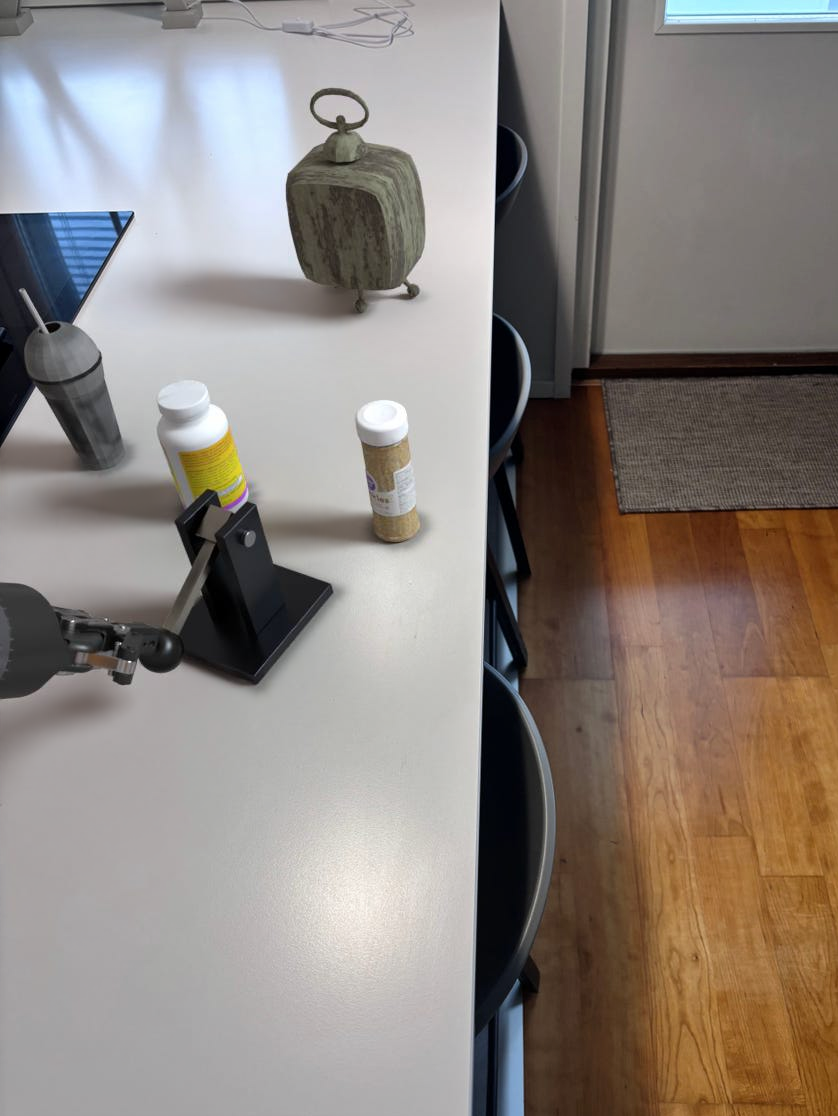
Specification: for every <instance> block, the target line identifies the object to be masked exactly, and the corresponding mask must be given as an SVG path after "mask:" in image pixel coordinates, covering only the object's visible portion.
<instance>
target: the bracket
mask: <svg viewBox="0 0 838 1116" xmlns="http://www.w3.org/2000/svg"><path fill="white" fill-rule="evenodd" d="M210 505H214V506H217V507H220V508H222V506H221V503H220V500H219V497H218V494H217V492H216V491H214V490H211V489H206V490H205V491H204V492H203V493H202V494H201V495H200V496H199V497H198V498H197V499H196V500H195V501H194V502H193V503H192V504H191V505H190V506H189V507H188V508H187V509H186V510H185V509H184V510H183V511H182V512H181V513H180V514H179V515H178V516H177V517H176V518H175V519H174V524H175V527H176V529H177V532H178V535H179V538H180V540H181V542H182V546H183V548H184V550H185V554H186V556H187V559H188V561H189V564H190V567H191V568H192V566H193V564H194V562H195V560H196V558H197V556H198V554H199V552H200V550H201V548H202V546H203V544H204V542H205V541H203V540H202V539H201V538H199V537H198V536H197V535H196V533H197V531H198V528H199V526H200V524H201V522H202V520H203V518H204V516H205V514H206V512H207V510H208V508H209V506H210ZM214 536H215V539H216V542H217V545H218V547H219V550H220V552H219V554H218V556H217V558H216V560H215V562H214V564H213V566H212V568H211V570H210V572H209V574H208V576H207V578H206V580H205V582H204V584H203V587H202V589H201V591H200V594H201V595H202V596H201V597H200V598H199V599H198V600H197V601H196V602H195V603H194V605H193V607H192V609H191V611H190V613H189V615H188V617H187V619H186V621H185V623H184V625H183V627H182V629H181V631H180V633H179V635H178V636H179V637H180V638H181V640H182V642H183V644H184V656H185V657H187V658H190V659H192V660H194V661H198V662H200V663H202V664H204V665H206V666H210V667H211V668H215V669H217V670H220V671H222V672H225V673H227V674H230V675H232V676H234V677H236V678H240V679H242V680H244V681H247V682H249V683H252V684H255V685H259V683H260V682H261V681H262V680H263V679H264V677H265V676H266V675H267V674H268V672H269V671H270V670H271V669H272V668H273V666H274V665H275V664H276V663H277V662H278V660H279V659H280V658H281V657H282V656H283V655H284V653H285V652H286V651H287V650H288V648H289V647H290V646H291V644H293V642H294V641H295V640H296V639H297V637H298V636H300V634H301V633H302V631H303V630H304V629H305V628H306V626H307V625H308V624H309V623H310V622H311V620H312V619H313V618H314V617H315V616H316V614H317V613H318V612H319V611H320V609H322V608H323V606H324V605H325V603H327V601H328V600H329V598H330V597H332V596H333V594H334V589H333V585H332V583H330V582H328V581H324V580H322V579H319V578H316V577H313V576H310V575H307V574H304V573H301V572H299V571H295V570H293V569H290V568H287V567H284V566H281V565H279V564H276V563H274V560H273V557H272V554H271V550H270V547H269V543H268V540H267V537H266V533H265V530H264V526H263V523H262V519H261V516H260V512H259V510H258V506H257V504H256V503H253V502H251V501H248V500H247V501H246V502H245V503H244V504H243V505H242V506H241V507H240V508H239V510H238V511H237V512H236V513H234V515H233V516H232V517H231V518H230V519H229V520H228V521H227V522H226V523H225V524H224V525H223V526H222V527H221V528H220V529H219V530H218V531H217V532H216V533H215V534H214Z"/></svg>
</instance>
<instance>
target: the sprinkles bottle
mask: <svg viewBox="0 0 838 1116" xmlns="http://www.w3.org/2000/svg"><path fill="white" fill-rule="evenodd" d="M406 410H407V409H405V407H404V406H403V405H402V404H400V403H398V402H397V401H393V400H388V399H380V400H379V399H378V400H374V401H370V402H368V403H366V404H364V405H362V406H361V407H360V408H359V409H358V410H357V412H356V413H355V417H354V421H355V422H354V423H355V429H356V434H357V437H358V438H359V441H360V444H361V449H362V455H363V461H364V467H365V470H364V471H365V478H366V484H367V489H368V497H369V502H370V506H371V510H372V517H373V530H374V533H375V535H376V536H377V537H378V538H380V539H381V540H383V541H386V542H391V543H398V542H399V543H401V542H404V541H407V540H409V539H411V538H413V537H414V536H415V535H416V534H417V532H419V530H420V527H421V521H420V518H419V515H418V508H417V492H416V484H415V477H414V476H415V475H414V470H413V469H414V467H413V461H412V460H413V459H412V455H411V450H410V443H409V420H408V415H407V411H406Z"/></svg>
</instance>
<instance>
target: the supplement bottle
mask: <svg viewBox="0 0 838 1116" xmlns="http://www.w3.org/2000/svg"><path fill="white" fill-rule="evenodd" d="M155 399H156V404H157V407H158V411H159V413H160V414H161V415H162V416H160V418H159V420H158V422H157V425H156V435H157V439H158V442H159V444H160V446H161V449H162V451H163V454H164V458H165V460H166V464H167V465H168V467H169V471H170V475H171V476H172V480H173V483H174V486H175V488H176V490H177V493H178V496H179V498H180V501H181V504H182V506H183V508H184V511H185V510H186V509H187V508H188V507H189V506H190V505H191V504H192V503H193V502H194V501H195V500H196V499H197V498H198V497H199V496H200V495H201V494H202V493H203V492H204V491H205V490H206V489H211V490H214V491H216V492H217V494H218V497H219V500H220V503H221V506H222V508H223V509H226V510H229V511H232V512H233V513H234V514H235V513H236V512H237V511H238V510H239V508H240V507H241V506H242V505H243V504H244V503H245V502H247V501H248V498H249V488H248V484H247V481H246V477H245V474H244V471H243V467H242V464H241V461H240V458H239V455H238V451H237V448H236V444H235V440H234V438H233V435H232V431H231V428H230V425H229V421H228V418H227V415H226V414H225V412H224V411H223V410H222V409H221V408H220V407H218V406H217V405H216V404H213V403H211V397H210V393H209V390H208V389H207V386H206V385H205V384H203V382H200V381H197V380H192V379H191V380H190V379H188V380H187V379H184V380H178V381H175V382H172V383H169V384H167V385H166V386H164V387H163V388H161V389H160V390H159V391H158V393H157V394H156V398H155Z"/></svg>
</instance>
